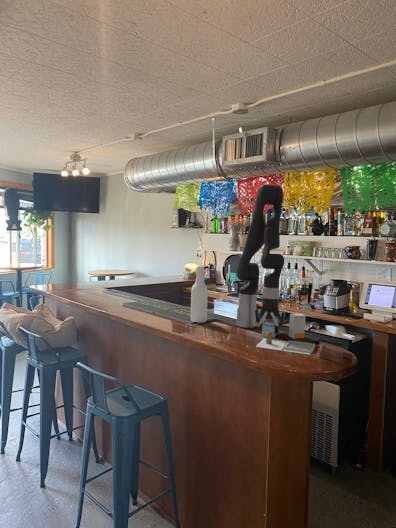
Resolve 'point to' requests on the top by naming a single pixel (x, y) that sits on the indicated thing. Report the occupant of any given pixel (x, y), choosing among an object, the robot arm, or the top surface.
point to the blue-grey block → (268, 329)
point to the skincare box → (297, 325)
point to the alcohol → (199, 298)
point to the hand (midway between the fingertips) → (269, 332)
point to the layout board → (286, 345)
